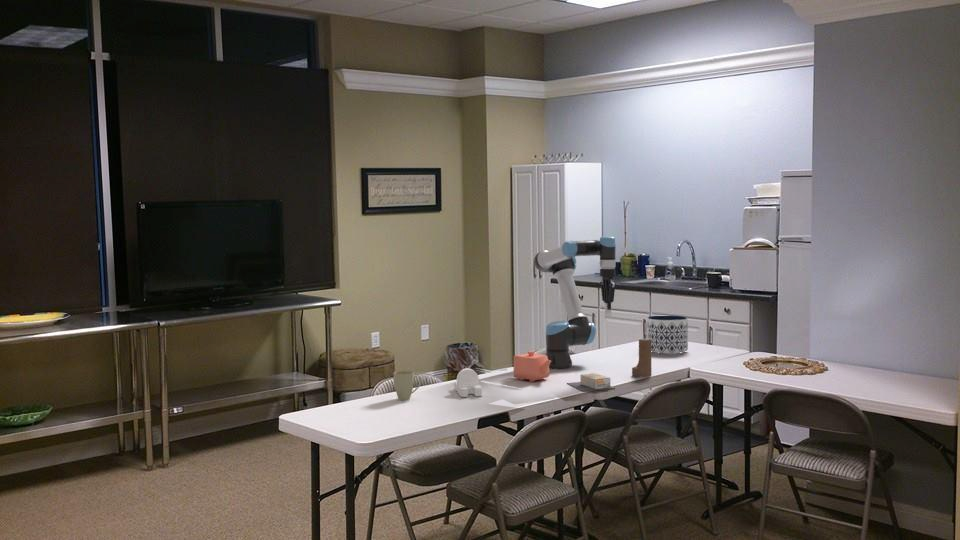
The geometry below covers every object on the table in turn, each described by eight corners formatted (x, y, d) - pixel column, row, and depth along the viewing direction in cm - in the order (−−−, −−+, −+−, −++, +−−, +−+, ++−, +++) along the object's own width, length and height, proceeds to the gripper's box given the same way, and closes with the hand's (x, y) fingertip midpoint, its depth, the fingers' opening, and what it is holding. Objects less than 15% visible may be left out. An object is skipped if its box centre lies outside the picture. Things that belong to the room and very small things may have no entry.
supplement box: (580, 384, 403) (595, 389, 391) (580, 374, 403) (595, 379, 391) (595, 382, 406) (610, 387, 394) (595, 372, 406) (610, 377, 394)
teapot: (558, 381, 414) (558, 352, 413) (541, 385, 405) (541, 355, 404) (523, 376, 429) (522, 347, 428) (506, 379, 420) (506, 351, 419)
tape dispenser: (461, 397, 384) (461, 373, 383) (453, 389, 401) (453, 366, 401) (482, 395, 386) (482, 371, 385) (474, 387, 403) (473, 365, 403)
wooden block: (638, 378, 419) (638, 341, 418) (631, 376, 423) (631, 340, 421) (651, 376, 424) (651, 339, 423) (645, 374, 428) (645, 338, 426)
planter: (647, 356, 481) (647, 320, 480) (646, 349, 503) (646, 315, 502) (689, 356, 477) (689, 320, 476) (686, 350, 499) (686, 315, 498)
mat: (566, 384, 407) (566, 383, 407) (597, 381, 412) (597, 380, 412) (583, 391, 390) (583, 390, 390) (615, 388, 395) (615, 387, 395)
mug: (408, 402, 373) (407, 375, 372) (389, 400, 378) (389, 373, 377) (422, 397, 382) (422, 371, 381) (404, 395, 387) (404, 369, 386)
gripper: (595, 267, 429) (595, 315, 431) (606, 269, 417) (607, 317, 419) (608, 267, 432) (608, 314, 433) (620, 268, 419) (621, 317, 421)
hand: (608, 316), depth 426 cm, fingers closed
